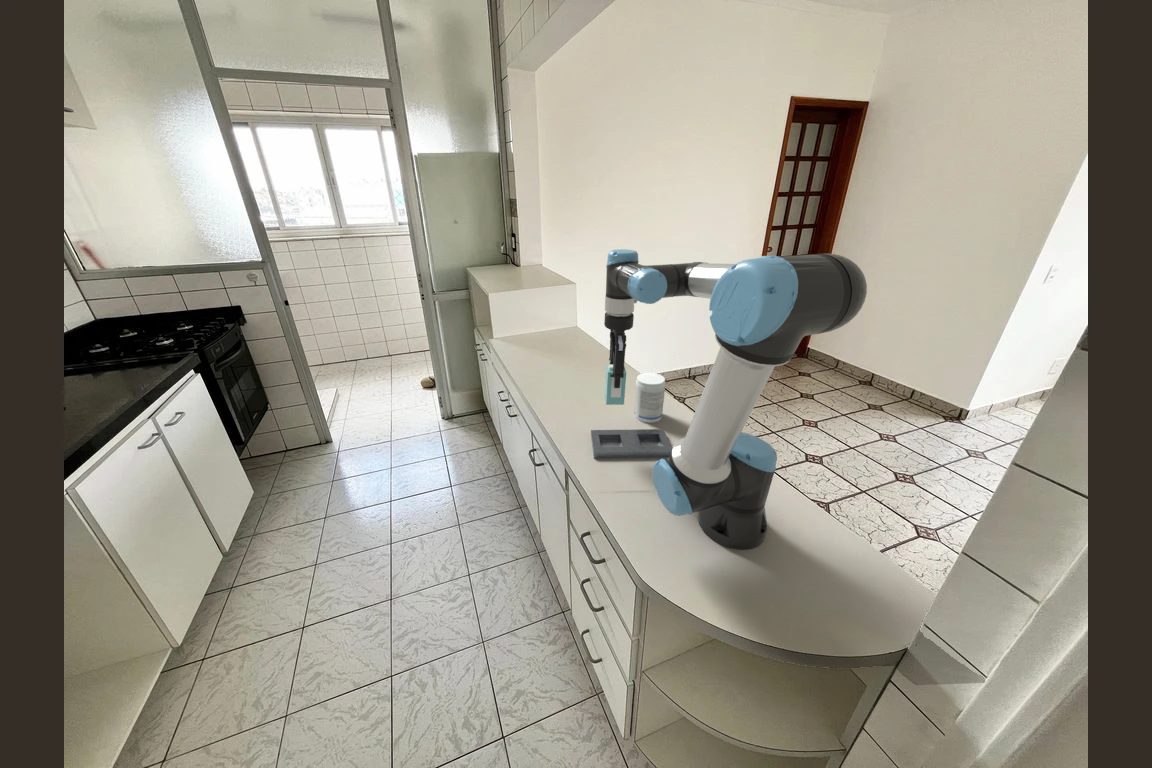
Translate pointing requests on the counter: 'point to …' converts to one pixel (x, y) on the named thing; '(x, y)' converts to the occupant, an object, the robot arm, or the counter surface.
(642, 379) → the supplement tub
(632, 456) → the grey socket board
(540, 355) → the counter surface
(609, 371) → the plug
